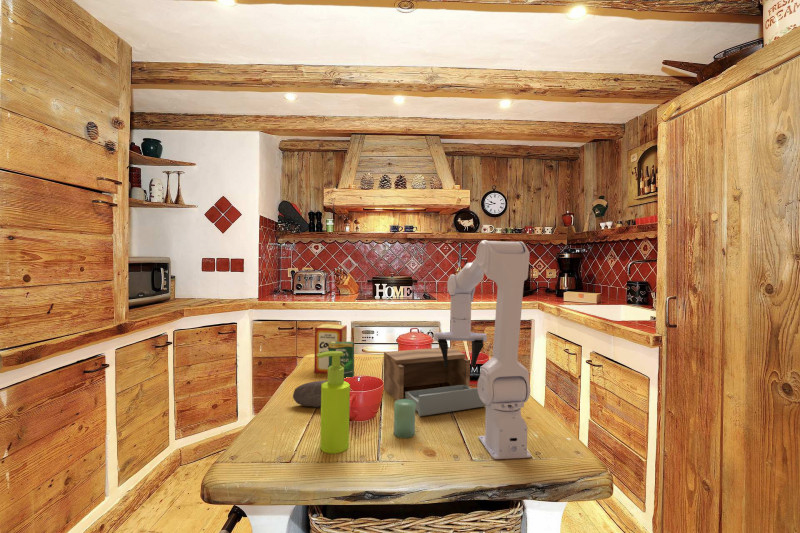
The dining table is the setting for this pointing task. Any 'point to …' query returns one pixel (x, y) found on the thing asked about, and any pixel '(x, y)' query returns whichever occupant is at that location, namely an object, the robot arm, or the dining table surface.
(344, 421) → the soap dispenser
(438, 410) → the drawer tray
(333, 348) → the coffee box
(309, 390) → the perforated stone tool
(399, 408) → the sea green cylinder
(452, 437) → the dining table surface
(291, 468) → the dining table surface
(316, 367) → the red food box
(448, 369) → the wooden drawer box
